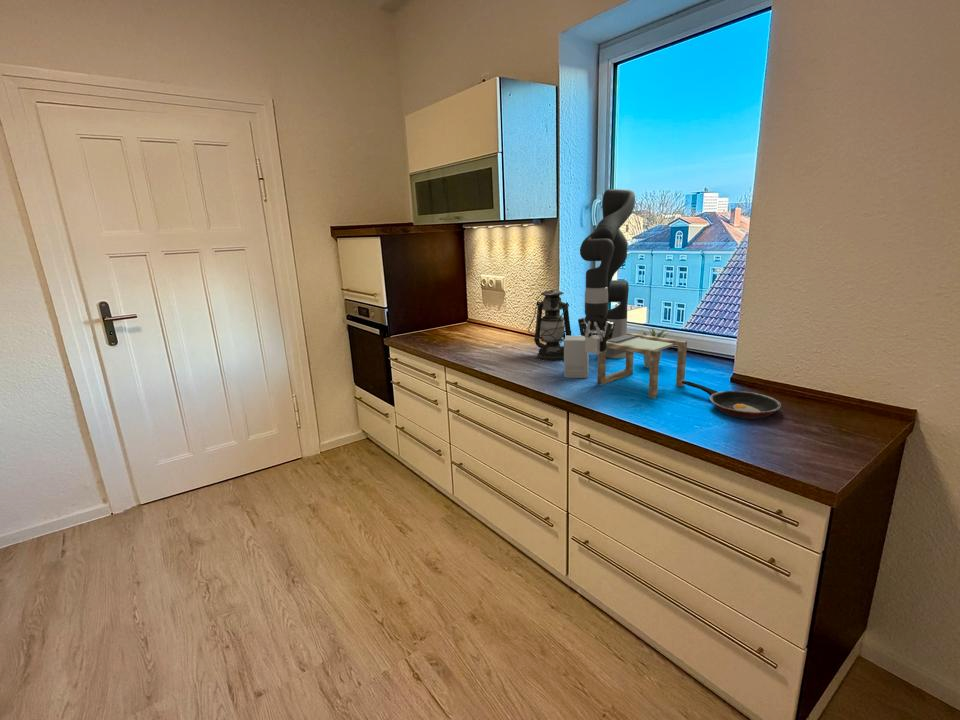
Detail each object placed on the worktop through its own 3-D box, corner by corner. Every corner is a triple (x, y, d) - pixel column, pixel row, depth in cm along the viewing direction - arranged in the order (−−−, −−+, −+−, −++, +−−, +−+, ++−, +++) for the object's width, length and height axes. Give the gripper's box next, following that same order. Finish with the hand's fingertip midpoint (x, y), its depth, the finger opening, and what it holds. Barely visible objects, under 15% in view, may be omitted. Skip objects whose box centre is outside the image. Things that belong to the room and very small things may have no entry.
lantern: (579, 355, 215) (579, 289, 208) (559, 366, 201) (558, 294, 193) (542, 351, 226) (541, 287, 219) (521, 360, 212) (519, 293, 204)
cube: (585, 351, 164) (585, 337, 163) (594, 348, 167) (594, 334, 166) (596, 354, 160) (597, 339, 159) (606, 351, 163) (606, 336, 162)
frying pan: (753, 427, 132) (754, 414, 131) (662, 396, 160) (662, 385, 159) (794, 413, 141) (795, 401, 140) (700, 385, 168) (701, 375, 167)
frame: (597, 384, 175) (598, 341, 171) (628, 372, 187) (629, 332, 182) (653, 398, 158) (656, 351, 154) (684, 385, 169) (687, 341, 165)
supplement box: (588, 371, 191) (589, 335, 187) (587, 378, 182) (587, 340, 178) (565, 371, 193) (565, 334, 189) (563, 377, 185) (563, 339, 181)
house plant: (677, 364, 195) (679, 324, 190) (669, 373, 184) (671, 331, 179) (641, 360, 202) (643, 322, 198) (632, 369, 191) (633, 329, 187)
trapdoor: (604, 354, 173) (604, 340, 172) (627, 347, 182) (628, 334, 180) (651, 363, 159) (651, 348, 157) (674, 355, 167) (675, 341, 166)
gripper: (621, 301, 156) (620, 351, 160) (586, 297, 166) (586, 344, 171) (607, 304, 151) (606, 356, 156) (572, 300, 162) (572, 348, 167)
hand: (595, 349), depth 163 cm, fingers closed on cube, 5 cm apart
